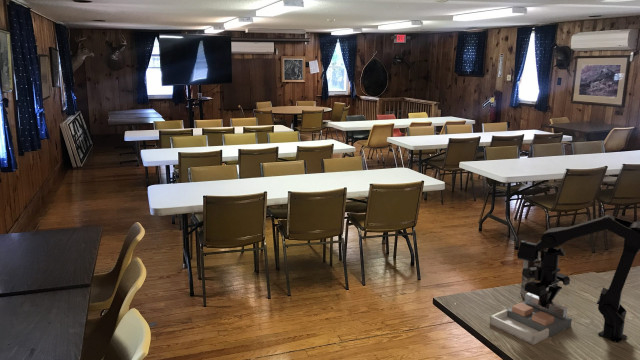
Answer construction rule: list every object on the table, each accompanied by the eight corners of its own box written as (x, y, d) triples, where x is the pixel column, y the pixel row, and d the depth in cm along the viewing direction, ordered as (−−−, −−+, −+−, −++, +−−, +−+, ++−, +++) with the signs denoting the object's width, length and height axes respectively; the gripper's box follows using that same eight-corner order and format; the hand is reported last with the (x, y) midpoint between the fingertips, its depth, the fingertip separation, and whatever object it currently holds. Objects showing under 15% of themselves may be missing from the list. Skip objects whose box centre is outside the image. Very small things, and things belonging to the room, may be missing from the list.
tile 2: (540, 316, 175) (540, 311, 174) (553, 322, 171) (554, 316, 170) (531, 320, 172) (532, 314, 172) (545, 326, 168) (545, 320, 168)
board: (527, 307, 188) (528, 300, 187) (571, 326, 174) (571, 318, 173) (505, 317, 181) (506, 309, 180) (548, 337, 167) (549, 328, 166)
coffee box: (525, 299, 195) (528, 260, 191) (520, 292, 201) (523, 254, 198) (549, 300, 194) (553, 261, 190) (543, 293, 200) (547, 255, 197)
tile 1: (520, 307, 181) (520, 302, 181) (532, 312, 177) (533, 307, 177) (511, 311, 179) (512, 306, 178) (524, 316, 175) (524, 311, 174)
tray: (505, 317, 181) (505, 309, 180) (548, 337, 167) (549, 329, 166) (489, 323, 176) (490, 315, 175) (532, 345, 162) (533, 336, 162)
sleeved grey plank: (528, 301, 185) (529, 292, 185) (566, 317, 173) (567, 307, 172) (524, 302, 184) (525, 293, 183) (562, 319, 172) (563, 309, 171)
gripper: (544, 252, 187) (540, 291, 190) (512, 263, 177) (509, 304, 180) (572, 261, 177) (568, 302, 181) (541, 273, 168) (537, 316, 171)
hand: (545, 305), depth 178 cm, fingers closed on sleeved grey plank, 2 cm apart
